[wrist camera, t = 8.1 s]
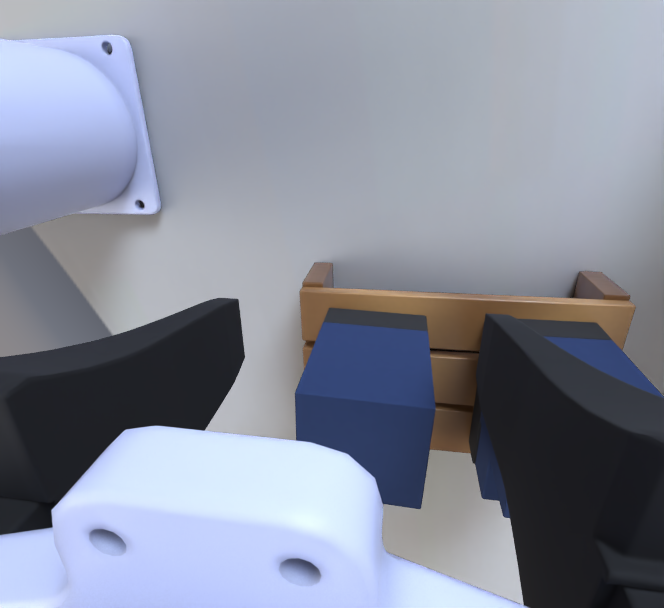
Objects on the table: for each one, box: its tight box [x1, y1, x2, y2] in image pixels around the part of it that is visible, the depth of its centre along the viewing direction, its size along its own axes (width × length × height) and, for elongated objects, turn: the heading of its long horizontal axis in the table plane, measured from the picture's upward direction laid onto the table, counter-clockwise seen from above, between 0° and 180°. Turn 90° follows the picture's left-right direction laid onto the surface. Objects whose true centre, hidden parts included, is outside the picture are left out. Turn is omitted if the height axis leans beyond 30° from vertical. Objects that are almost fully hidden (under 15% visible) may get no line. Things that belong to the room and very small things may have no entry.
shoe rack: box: [300, 263, 636, 453], centre depth 21 cm, size 14×9×4 cm, turn 91°
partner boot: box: [469, 318, 664, 518], centre depth 16 cm, size 7×4×6 cm, turn 1°
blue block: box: [295, 308, 436, 509], centre depth 17 cm, size 7×4×6 cm, turn 179°
